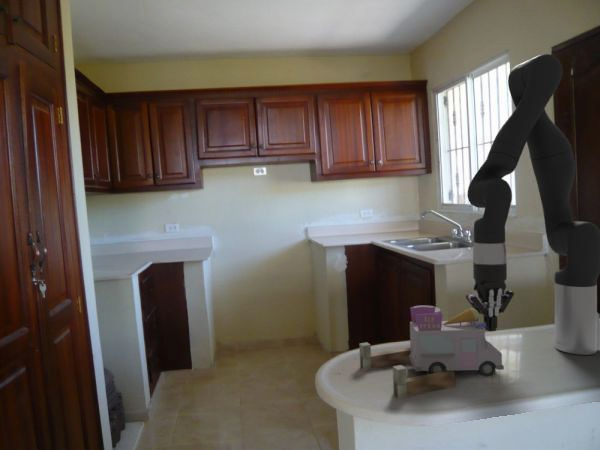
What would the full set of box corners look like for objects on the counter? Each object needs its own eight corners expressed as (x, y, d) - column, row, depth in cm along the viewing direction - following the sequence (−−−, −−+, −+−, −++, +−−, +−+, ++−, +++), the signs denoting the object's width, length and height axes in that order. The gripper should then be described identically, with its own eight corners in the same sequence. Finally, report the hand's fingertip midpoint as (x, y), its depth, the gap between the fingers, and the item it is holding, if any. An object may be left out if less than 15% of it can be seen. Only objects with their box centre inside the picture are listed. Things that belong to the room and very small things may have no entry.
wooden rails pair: (410, 358, 112) (409, 335, 111) (455, 386, 95) (455, 359, 94) (360, 367, 107) (359, 343, 107) (398, 398, 90) (397, 369, 90)
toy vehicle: (505, 379, 97) (504, 312, 97) (416, 380, 99) (414, 315, 98) (489, 363, 107) (488, 302, 106) (408, 365, 108) (407, 304, 107)
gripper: (500, 256, 113) (500, 323, 114) (457, 261, 109) (458, 329, 110) (523, 260, 105) (523, 331, 106) (478, 265, 101) (479, 338, 102)
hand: (490, 330), depth 108 cm, fingers closed
